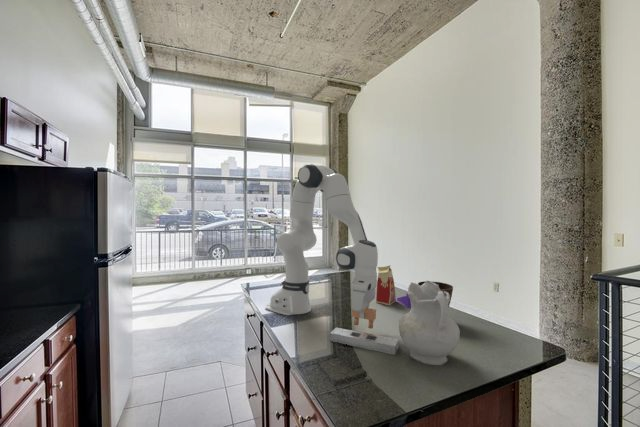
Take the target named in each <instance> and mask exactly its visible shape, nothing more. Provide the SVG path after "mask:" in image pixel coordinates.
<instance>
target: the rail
mask: <svg viewBox="0 0 640 427" xmlns="http://www.w3.org/2000/svg"><path fill="white" fill-rule="evenodd" d="M332 341H333V343H337V342H338V344H341V345H346V344H347V345H348V346H352V347H355V348H357V347H358V348H362V349H366V350H371V351H376V352H379V353H380V352H381V353H384V354H390V355H394V356H396V354H397V351H398V349H399V339H398V338H393V337H389V336H382V335H378V334H373V333H367V332H361V331H358V330H351V329H346V328H341V327H335V328H334V329H333V330H331V331H330V332H329V342H332Z"/></svg>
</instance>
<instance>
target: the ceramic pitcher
mask: <svg viewBox="0 0 640 427" xmlns="http://www.w3.org/2000/svg"><path fill="white" fill-rule="evenodd" d="M425 281H427V282H425ZM425 281H424V282H425V283H424V284H423V285H421V286H418V283H416V282H410V284H409V285H408V288H407V293H408V296H409V298H410V301H411V307H410V310H409V311H408V312H407V313H405V314H404V315H403V316H401V318H400V319H399V321H398V332H399V335H400V338H401V340H402V342H403V344H404V346H405V347H407V349H408V350H410V352H409V353H410V354H409V355H410V357H411V359H414V360H415V361H417V362H420V363H422V364H425V365H429V366H443V365H444V364H446V362H448V360H449V359H448V358H447V356H450V355H451V354H452V353H453V352H454V351H455V350H456V348H457V347H458V345H459V343H460V337H461V336H460V335H461V330H460V328H459V326H458V324H457V323H456V322H455V321H454V319H452V318H451V317H450V316H449V312H450V311H449V310H450V309H449V308H448V304H449V301H450V295H449V293H447V292H446V291H441V290H440V288H439V286H438V285H439V284H438V285H437V284H435V283H433V282H434V281H433V282H432V281H430V280H425ZM450 302H451V301H450Z"/></svg>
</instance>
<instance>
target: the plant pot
mask: <svg viewBox="0 0 640 427" xmlns="http://www.w3.org/2000/svg"><path fill="white" fill-rule="evenodd" d="M427 281H428V280H425V282H427ZM425 282H424V281H418V282H417V285H418V286H421V285H423V284H424V283H425ZM432 282H433V283H435V284H437V285H438V284H439V285H438V286H439V288H440V290H441V291H446V292H447V293H449V295H450V301H449V304H448V308H449V307H450V305H451V301H452V300H451V299H452V297H453V291H454V286H453V285H451V284H449V283H445V282H440V281H432Z"/></svg>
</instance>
